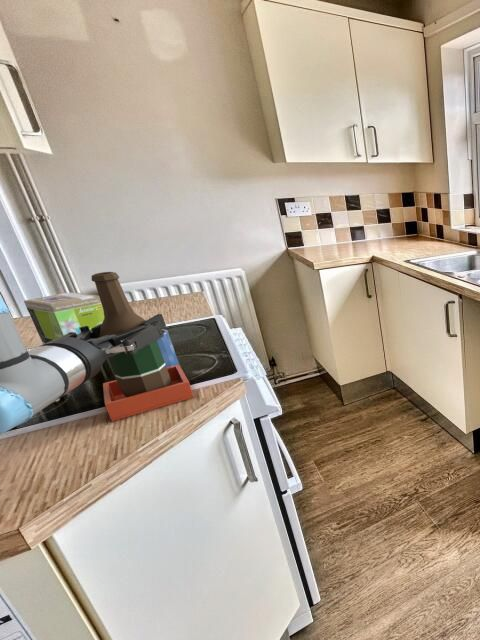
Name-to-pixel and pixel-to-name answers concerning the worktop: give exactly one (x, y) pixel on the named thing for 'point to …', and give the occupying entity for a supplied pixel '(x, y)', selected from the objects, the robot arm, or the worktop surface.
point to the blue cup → (167, 350)
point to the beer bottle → (148, 362)
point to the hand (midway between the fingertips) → (139, 322)
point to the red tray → (146, 396)
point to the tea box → (64, 314)
